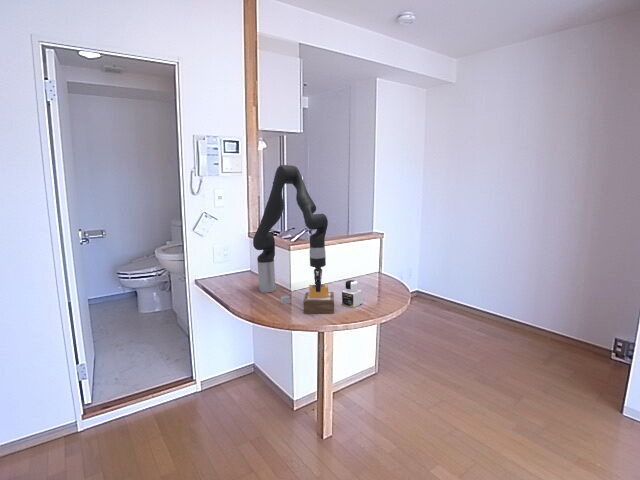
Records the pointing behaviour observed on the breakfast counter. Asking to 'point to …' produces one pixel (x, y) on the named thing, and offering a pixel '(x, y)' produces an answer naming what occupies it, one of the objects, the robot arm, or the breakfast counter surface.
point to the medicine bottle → (351, 294)
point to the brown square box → (319, 304)
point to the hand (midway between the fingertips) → (318, 289)
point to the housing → (321, 294)
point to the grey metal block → (285, 299)
